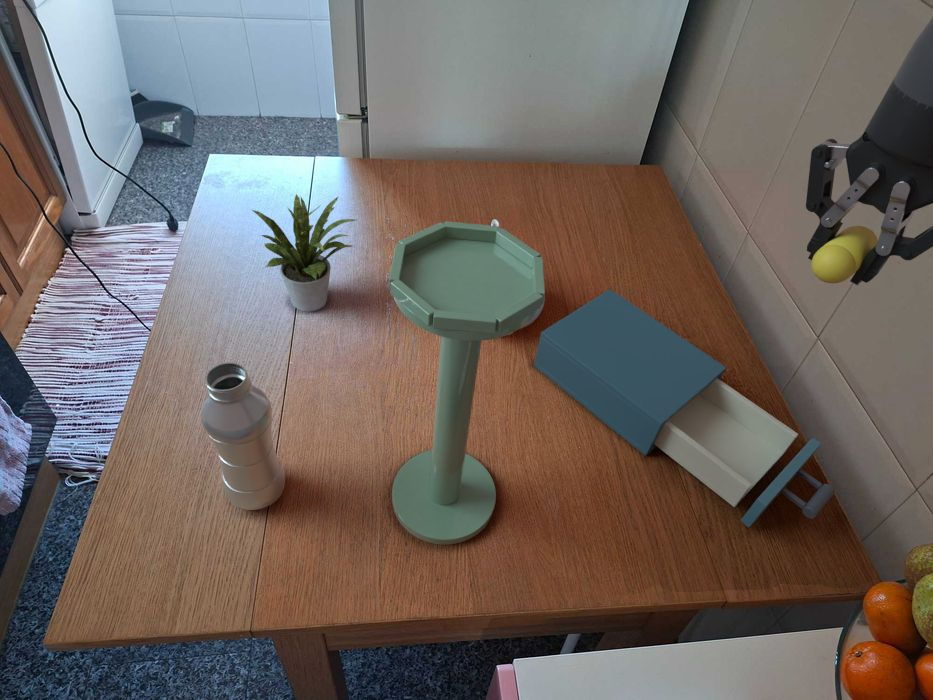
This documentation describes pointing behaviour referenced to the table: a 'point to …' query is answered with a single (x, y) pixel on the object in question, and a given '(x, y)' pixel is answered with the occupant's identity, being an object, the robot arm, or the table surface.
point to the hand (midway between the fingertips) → (836, 268)
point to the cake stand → (458, 361)
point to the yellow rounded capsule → (843, 254)
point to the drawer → (738, 450)
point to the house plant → (304, 255)
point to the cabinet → (624, 367)
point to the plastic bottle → (242, 437)
